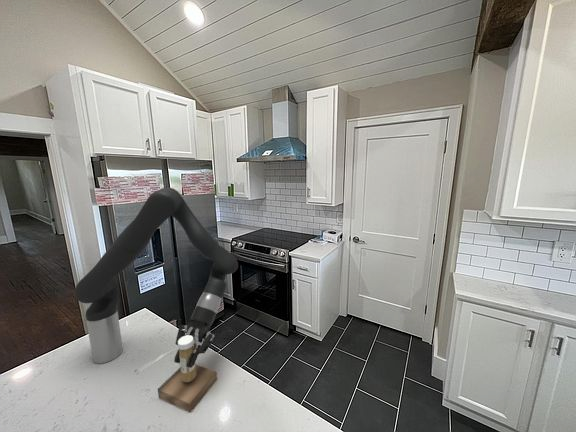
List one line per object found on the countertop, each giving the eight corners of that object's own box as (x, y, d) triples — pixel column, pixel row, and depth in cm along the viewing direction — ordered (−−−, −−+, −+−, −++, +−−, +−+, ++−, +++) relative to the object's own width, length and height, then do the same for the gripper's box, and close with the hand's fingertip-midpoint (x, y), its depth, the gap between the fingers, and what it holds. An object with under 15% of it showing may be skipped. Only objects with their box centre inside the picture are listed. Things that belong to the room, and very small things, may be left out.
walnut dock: (158, 397, 72) (157, 388, 72) (188, 368, 83) (187, 360, 83) (190, 412, 68) (189, 403, 67) (217, 379, 79) (216, 371, 78)
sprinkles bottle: (198, 378, 74) (194, 340, 72) (182, 385, 72) (178, 346, 69) (194, 368, 78) (191, 332, 76) (180, 375, 75) (176, 338, 73)
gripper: (184, 301, 81) (157, 357, 72) (218, 309, 76) (193, 370, 66) (196, 307, 86) (173, 359, 77) (228, 315, 81) (207, 372, 72)
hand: (182, 364), depth 72 cm, fingers closed on sprinkles bottle, 4 cm apart
